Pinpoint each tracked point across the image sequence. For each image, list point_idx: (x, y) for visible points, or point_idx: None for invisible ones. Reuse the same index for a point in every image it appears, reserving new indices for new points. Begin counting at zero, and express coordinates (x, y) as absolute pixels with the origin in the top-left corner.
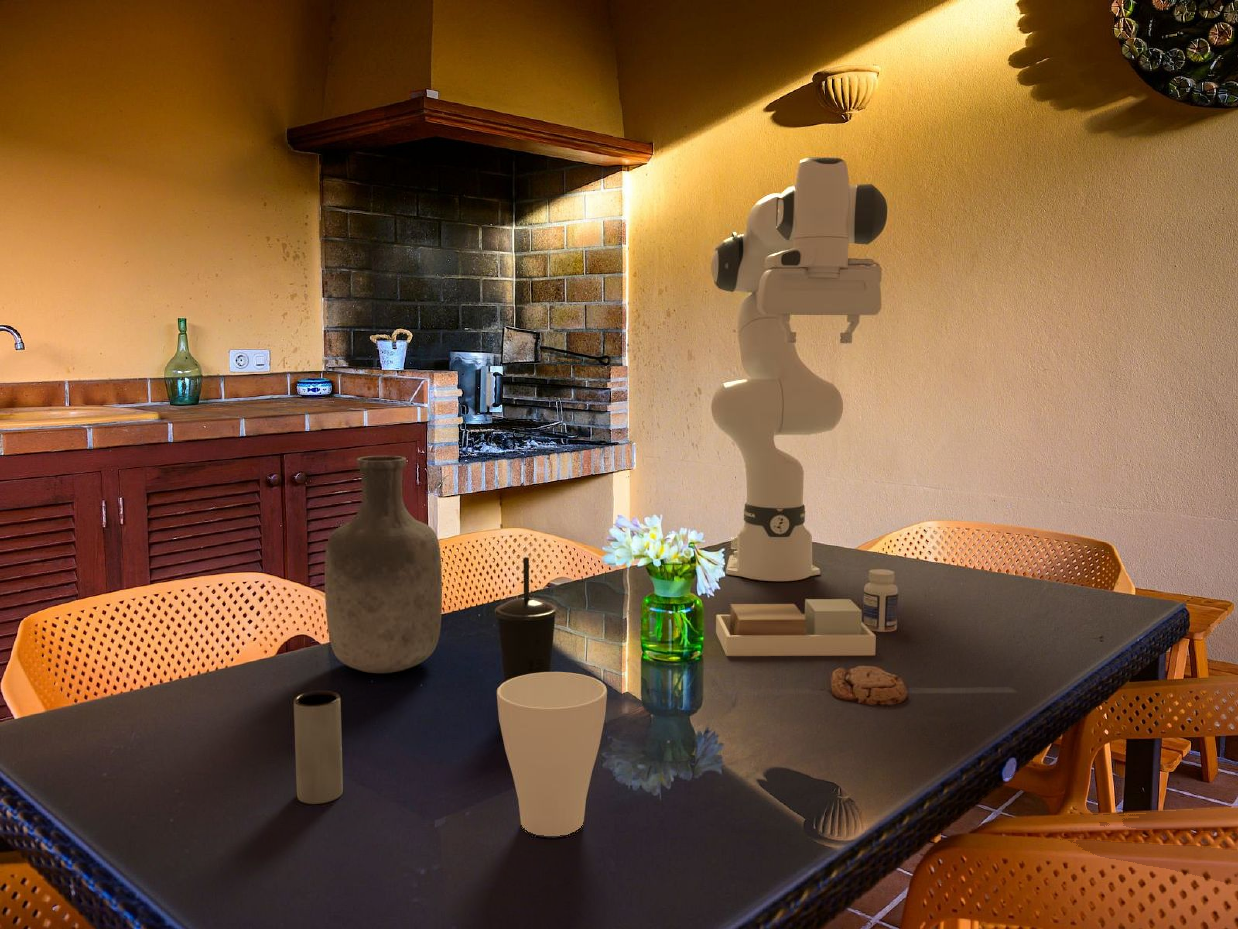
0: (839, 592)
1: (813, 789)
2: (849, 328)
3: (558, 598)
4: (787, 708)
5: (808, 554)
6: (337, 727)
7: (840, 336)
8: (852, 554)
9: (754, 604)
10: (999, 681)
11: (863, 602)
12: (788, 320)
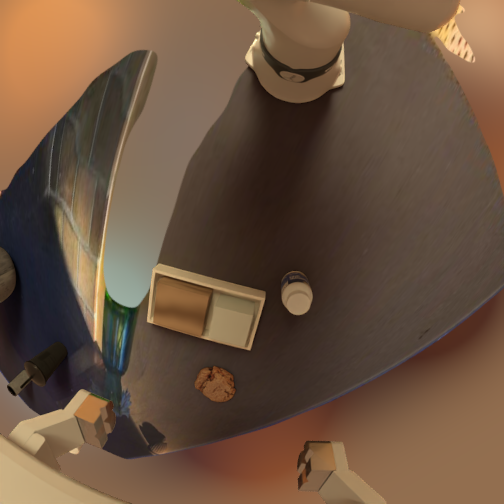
0: (329, 154)
1: (156, 435)
2: (332, 497)
3: (78, 128)
4: (166, 386)
5: (330, 82)
6: (20, 390)
7: (309, 459)
8: (408, 30)
9: (175, 288)
10: (301, 388)
11: (283, 285)
12: (56, 467)
